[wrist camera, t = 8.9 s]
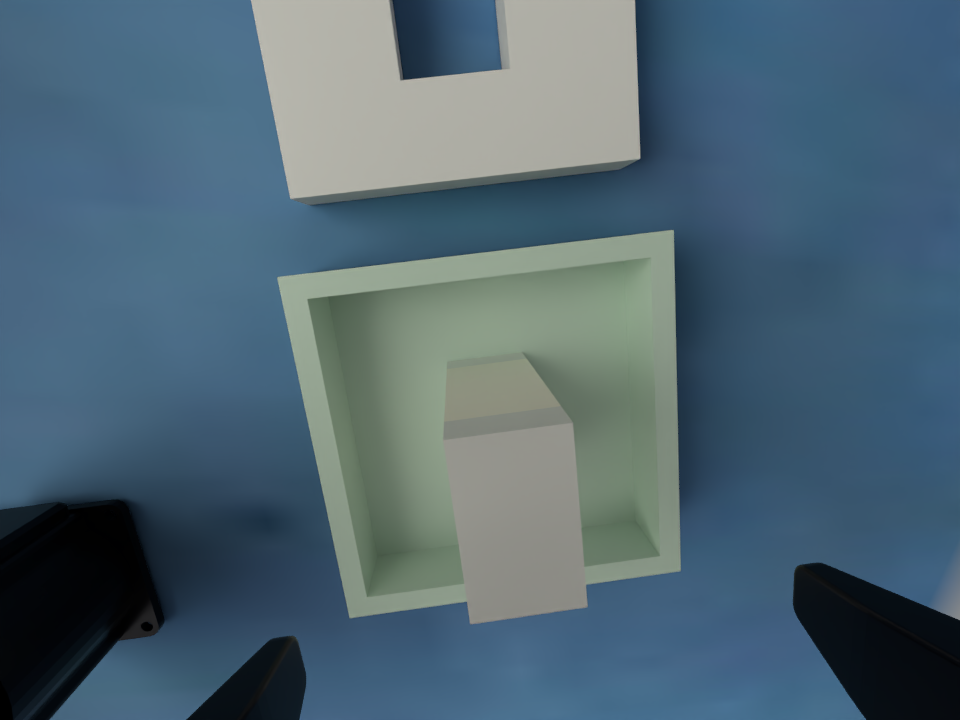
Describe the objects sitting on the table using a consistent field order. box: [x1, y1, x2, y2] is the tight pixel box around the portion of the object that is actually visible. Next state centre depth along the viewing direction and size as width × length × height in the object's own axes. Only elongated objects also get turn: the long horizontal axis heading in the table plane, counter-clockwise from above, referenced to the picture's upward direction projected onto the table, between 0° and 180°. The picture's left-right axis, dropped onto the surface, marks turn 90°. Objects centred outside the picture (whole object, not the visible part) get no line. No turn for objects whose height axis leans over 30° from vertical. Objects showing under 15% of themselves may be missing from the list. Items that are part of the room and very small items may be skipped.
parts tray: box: [277, 230, 681, 618], centre depth 18 cm, size 13×13×3 cm
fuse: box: [443, 352, 588, 624], centre depth 15 cm, size 5×3×8 cm, turn 7°
